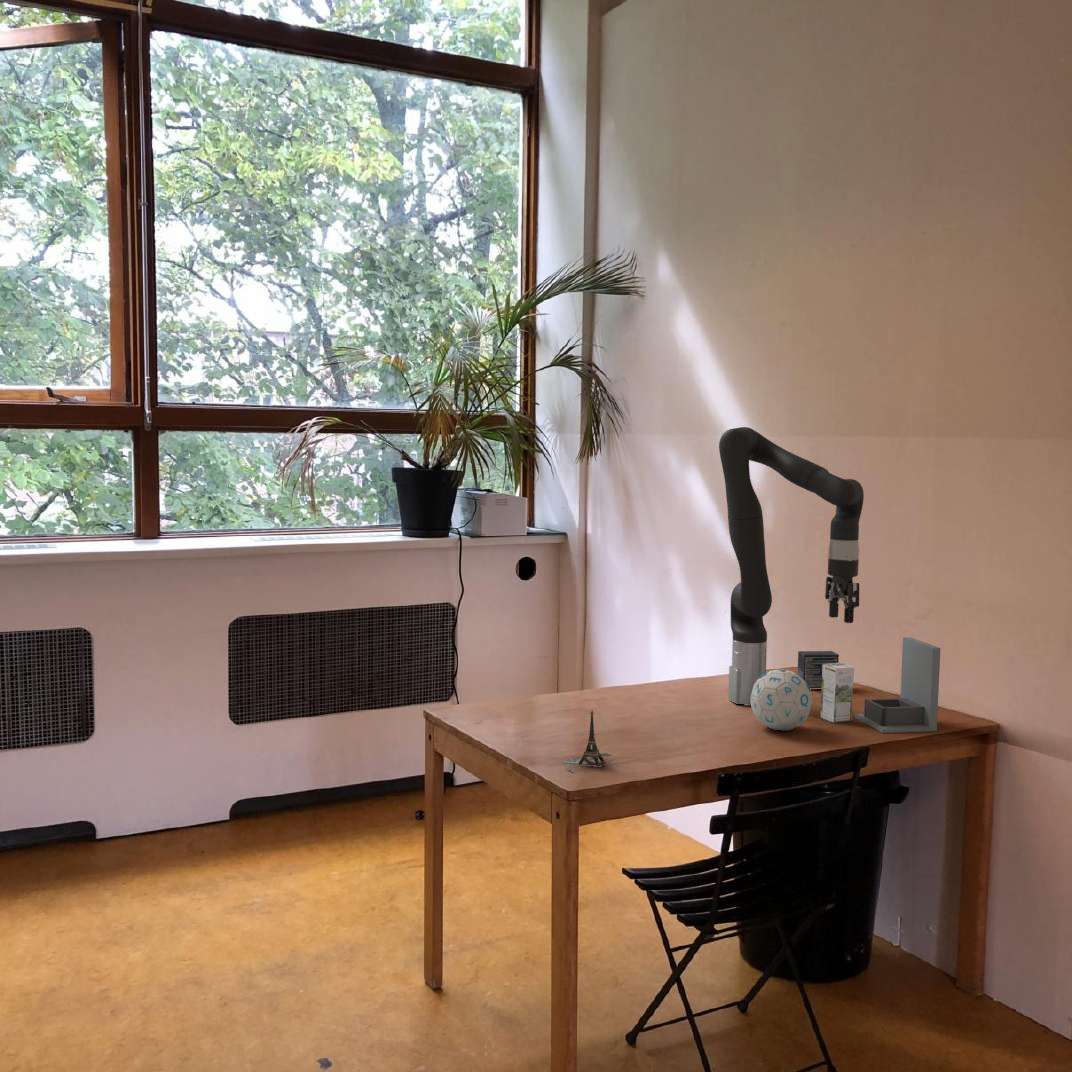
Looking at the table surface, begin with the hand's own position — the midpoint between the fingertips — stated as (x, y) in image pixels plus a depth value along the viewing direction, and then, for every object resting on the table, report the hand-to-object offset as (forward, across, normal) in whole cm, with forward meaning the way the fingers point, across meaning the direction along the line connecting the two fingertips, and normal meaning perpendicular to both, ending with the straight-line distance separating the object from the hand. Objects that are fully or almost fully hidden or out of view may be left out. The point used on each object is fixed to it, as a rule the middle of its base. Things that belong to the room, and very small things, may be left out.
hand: (841, 620), depth 280 cm
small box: (+26, -36, +11) cm, 46 cm away
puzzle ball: (+26, +7, -18) cm, 33 cm away
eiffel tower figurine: (+27, +28, -72) cm, 82 cm away
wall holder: (+26, +6, +13) cm, 30 cm away
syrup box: (+26, 0, 0) cm, 26 cm away
